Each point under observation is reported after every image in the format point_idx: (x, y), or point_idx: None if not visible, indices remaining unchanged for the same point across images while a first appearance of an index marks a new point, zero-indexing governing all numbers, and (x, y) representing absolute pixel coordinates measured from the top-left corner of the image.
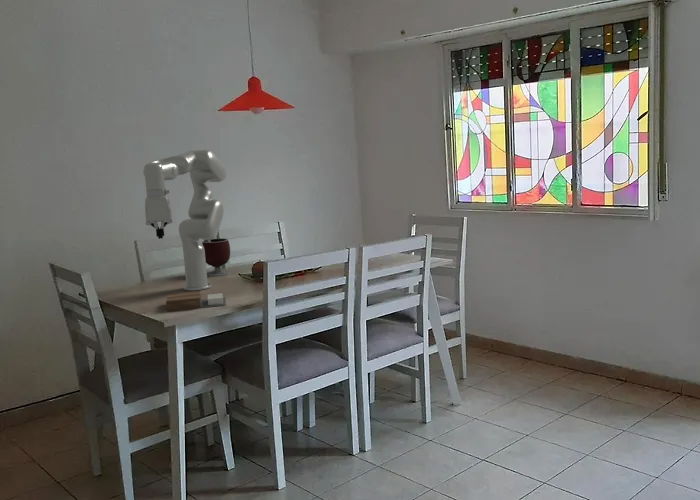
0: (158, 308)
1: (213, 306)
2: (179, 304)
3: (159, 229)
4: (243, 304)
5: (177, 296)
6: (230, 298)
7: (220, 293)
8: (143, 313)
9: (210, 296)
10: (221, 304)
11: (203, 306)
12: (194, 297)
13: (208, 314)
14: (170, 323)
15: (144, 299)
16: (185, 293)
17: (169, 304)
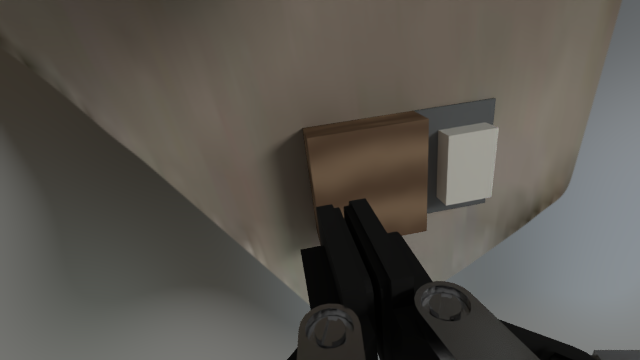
0: (279, 189)
1: (449, 208)
2: None
3: (376, 348)
4: (529, 199)
5: (350, 187)
6: (509, 107)
7: (492, 130)
8: (246, 240)
9: (456, 168)
10: None
11: None
12: (410, 216)
13: (433, 279)
14: None
15: (163, 6)
16: (375, 145)
17: None
